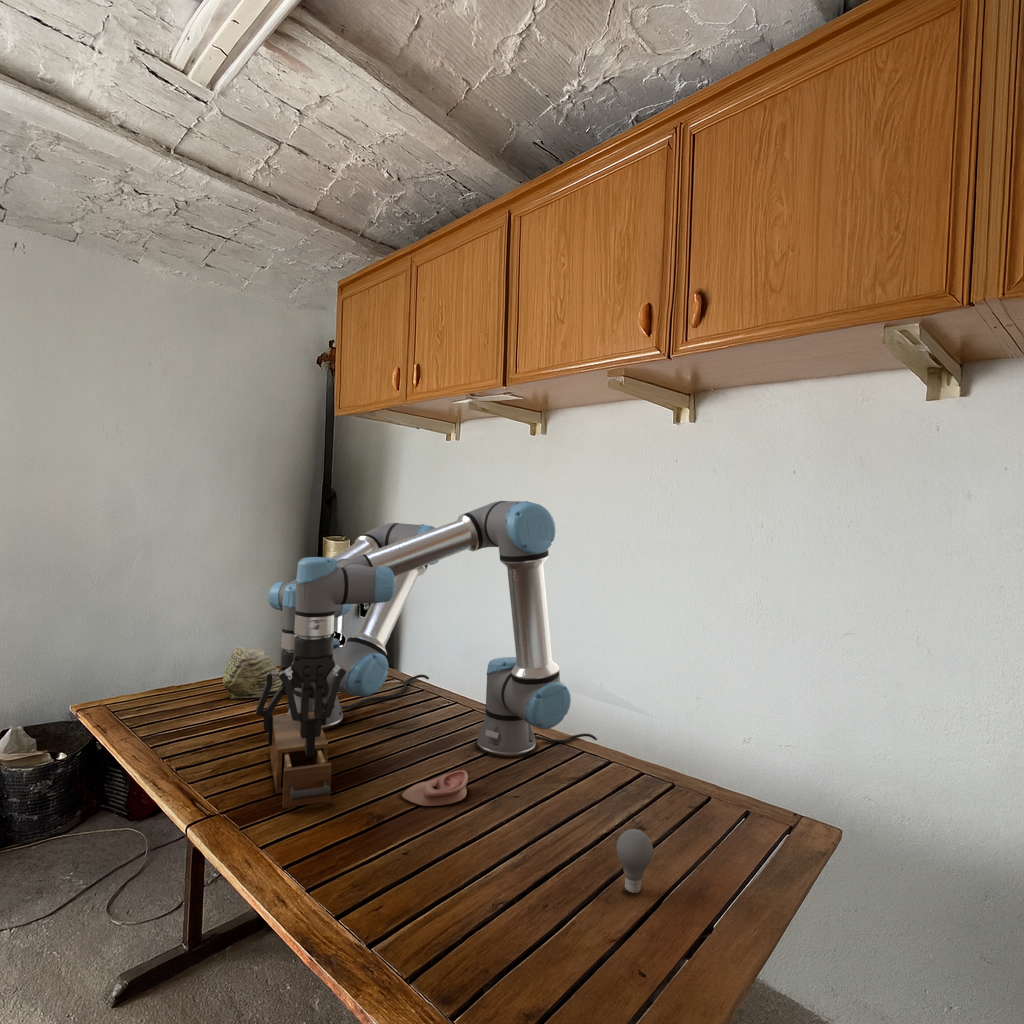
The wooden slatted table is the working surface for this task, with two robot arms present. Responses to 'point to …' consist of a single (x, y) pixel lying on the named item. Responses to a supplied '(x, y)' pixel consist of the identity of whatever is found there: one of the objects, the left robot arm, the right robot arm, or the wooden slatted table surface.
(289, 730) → the cabinet
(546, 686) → the right robot arm
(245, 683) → the fossil
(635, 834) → the light bulb
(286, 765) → the drawer
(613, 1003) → the wooden slatted table surface
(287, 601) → the left robot arm
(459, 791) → the anatomical model
